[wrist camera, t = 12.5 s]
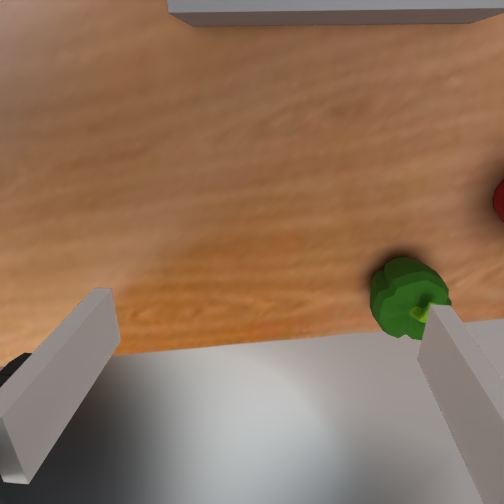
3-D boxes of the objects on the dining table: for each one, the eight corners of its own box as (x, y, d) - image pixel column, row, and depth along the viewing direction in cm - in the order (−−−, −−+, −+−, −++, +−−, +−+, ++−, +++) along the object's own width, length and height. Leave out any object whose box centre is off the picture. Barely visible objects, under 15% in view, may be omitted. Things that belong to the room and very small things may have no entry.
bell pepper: (396, 317, 48) (421, 372, 39) (349, 282, 47) (364, 331, 38) (448, 274, 45) (488, 323, 36) (399, 234, 43) (428, 275, 34)
